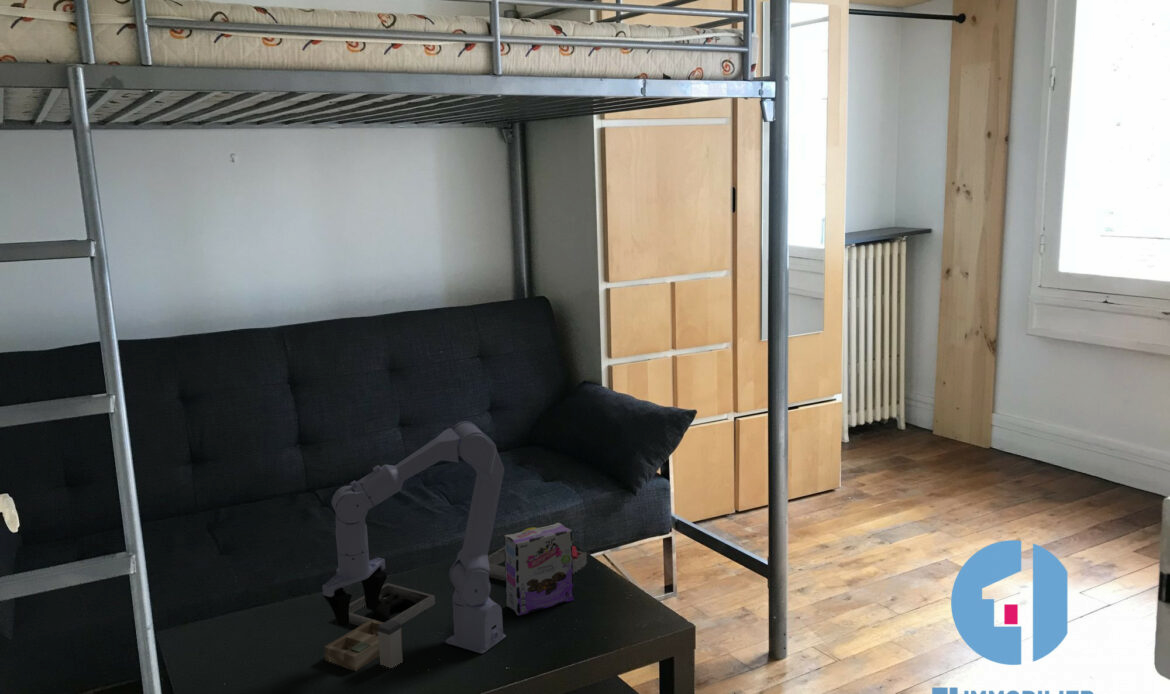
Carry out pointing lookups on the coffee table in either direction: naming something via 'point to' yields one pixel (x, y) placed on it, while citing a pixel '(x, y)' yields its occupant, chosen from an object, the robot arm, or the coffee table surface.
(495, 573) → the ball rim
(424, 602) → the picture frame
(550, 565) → the candy box
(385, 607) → the gaming controller
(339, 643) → the socket block
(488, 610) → the robot arm
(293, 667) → the coffee table surface
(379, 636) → the white upright block
